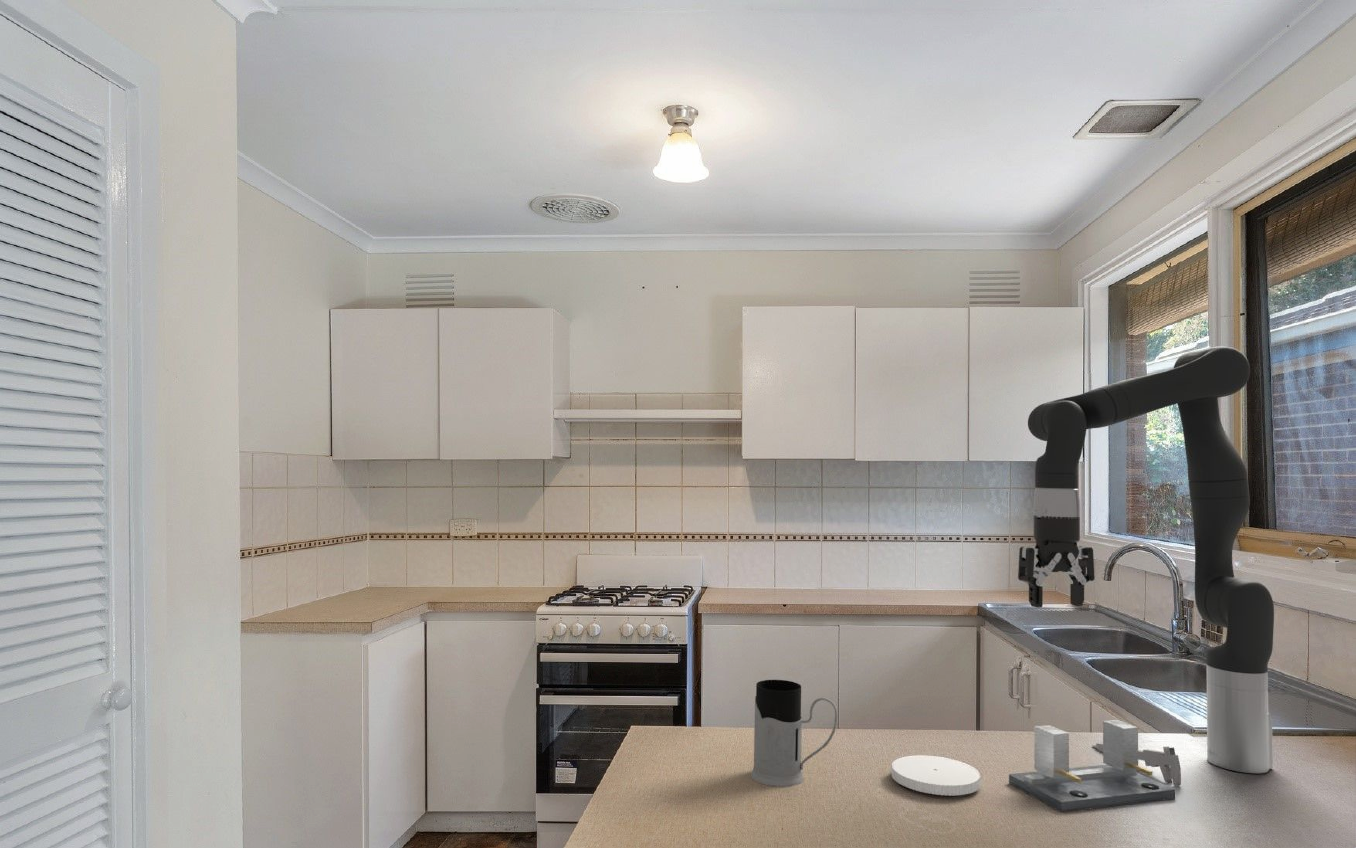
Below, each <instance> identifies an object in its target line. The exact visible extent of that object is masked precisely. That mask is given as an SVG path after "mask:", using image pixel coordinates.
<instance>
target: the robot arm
mask: <svg viewBox="0 0 1356 848" xmlns="http://www.w3.org/2000/svg"><path fill="white" fill-rule="evenodd" d="M1250 375H1251V366H1250V363H1249V360H1248V358H1247V357H1246V355H1244V353H1243V352H1242V351H1240V350H1238V349H1236V348H1234V347H1229V346H1213V347H1207V348H1206V347H1205V348H1201V349H1195V350H1191V351H1186V352H1184V353H1182V354H1181V355H1180V356H1179V357H1178V358H1177V359H1176V361H1175V363H1174V365H1173V368H1170V369H1167V370H1165V371H1161V372H1156V373H1152V374H1147V375H1143V376H1142V375H1141V376H1137V377H1133V378H1128V379H1125V380H1124V379H1123V380H1120V381H1117V382H1113V383H1110V384H1106V385H1103V386H1100V387H1097V388H1094V389H1091V390H1089V391H1085V392H1083V393H1080V394H1077V395H1072V396H1068V397H1067V396H1066V397H1064V398H1061V399H1060V398H1059V399H1056V400H1051V401H1048V402H1043V403H1041V404H1039V405H1038V406H1036V407H1034V408H1033V410H1031V412H1030V414H1029V415H1028V418H1027V427H1028V430H1029V432H1030V433H1031V435H1032V436H1033V437H1035V439H1038V440H1040V441H1043V442H1046V446H1045V452H1044V453H1043V454H1042V455H1039V457H1038V458H1037V459H1036V461H1035V466H1034V472H1035V473H1034V496H1033V538H1034V540H1035V545H1034V547H1030V546H1029V547H1028V546H1020V547H1019V552H1018V553H1019V554H1018V571H1017V578H1018V581H1020V582H1023V583H1026V584H1027V585H1028V601H1029V604H1030V606H1031V607H1032V608H1042V607H1043V602H1044V599H1043V598H1044V597H1043V595H1044V593H1043V592H1044V591H1043V586H1042V585H1043V582H1044V581H1045V579H1046V578H1047V577H1049V576H1050V575H1051V573H1059V572H1063V574H1065V575H1066V576H1067V577H1068V579H1069V580H1070V582H1071V583H1070V585H1069V586H1070V588H1069V589H1070V590H1069V591H1070V594H1069V595H1070V596H1069V598H1070V601H1069V602H1070V605H1072V606H1075V607H1082V606H1083V604H1084V601H1085V586H1086V584H1087V583H1089V582H1093V581H1094V580H1095V576H1096V575H1095V560H1094V559H1095V558H1094V548H1093V547H1091V546H1084V545H1083V546H1081V545H1080V546H1079V545H1078V542H1079V541H1080V540H1081V503H1080V502H1081V500H1080V495H1079V494H1080V493H1079V463H1080V459H1081V456H1082V452H1083V449H1084V445H1085V440H1086V436H1087V430H1093V429H1101V428H1105V427H1110V426H1112V425H1116V424H1119V423H1122V422H1125V421H1127V420H1132V419H1134V418H1137V417H1140V416H1143V415H1146V414H1149V413H1151V412H1155V411H1158V410H1161V409H1163V408H1166V407H1170V406H1173V405H1177V408H1178V412H1179V416H1180V421H1181V426H1182V433H1183V440H1184V441H1183V442H1184V450H1185V456H1186V466H1187V482H1188V488H1189V489H1188V490H1189V499H1190V500H1189V501H1190V506H1191V512H1192V523H1193V527H1192V528H1193V536H1194V537H1193V538H1194V599H1195V600H1194V601H1195V606H1196V608H1197V612H1198V613H1199V615H1200V616H1201V618H1202V619H1203V620H1204V621H1205V622H1207V623H1209V624H1211V625H1212V626H1213V625H1214V626H1218V627H1223V628H1225V629H1226V638H1225V641H1224V642H1223V643H1222V644H1221V645H1220V644H1219V645H1216V646H1215V645H1214V646H1211V647H1209V648H1208V649H1207V651H1206V658H1205V659H1206V733H1207V734H1206V740H1207V741H1206V745H1207V747H1206V748H1207V750H1206V753H1207V754H1206V755H1207V761H1208V762H1209V763H1211V764H1212V765H1214V766H1217V767H1218V768H1222V769H1226V770H1230V771H1235V772H1239V773H1245V774H1264V773H1267V772H1269V771H1270V769H1273V768H1274V766H1273V763H1274V760H1273V759H1274V757H1273V755H1274V754H1273V750H1274V749H1273V715H1272V714H1271V713H1270V712H1269V682H1268V681H1269V679H1268V678H1269V677H1268V675H1269V673H1268V667H1269V666H1268V665H1269V661H1270V659H1271V656H1272V653H1273V648H1274V647H1273V646H1274V626H1275V625H1274V624H1275V608H1274V607H1275V606H1274V600H1273V596H1272V595H1271V592H1270V590H1269V589H1268V588H1267V587H1266V586H1265V585H1264V584H1263V583H1261V582H1258V581H1256V580H1252V579H1251V580H1249V579H1244V578H1237V577H1235V573H1234V566H1233V564H1234V563H1233V548H1234V543H1235V541H1236V538H1237V535H1238V534H1239V532H1240V530H1241V528H1242V527H1243V524H1244V522H1245V520H1246V519H1247V515H1248V513H1249V511H1250V506H1251V505H1250V504H1251V499H1250V497H1251V495H1250V488H1249V487H1250V486H1249V480H1248V479H1249V478H1248V472H1247V468H1246V464H1245V462H1244V461H1243V459H1242V456H1241V455H1240V454H1239V452H1238V450H1237V448H1236V447H1235V446H1234V444H1233V443H1232V441H1231V439H1230V438H1229V436H1228V435H1227V433H1226V431H1225V429H1224V427H1223V424H1222V421H1221V416H1220V415H1221V414H1220V408H1219V398H1224V397H1227V396H1231V395H1234V394H1236V393H1238V392H1239V391H1241V390H1242V389H1243V388H1244V387H1245V386H1246V384H1247V383H1248V381H1249V379H1250V377H1251V376H1250ZM1035 559H1036V560H1035ZM1077 560H1078V561H1077Z"/></svg>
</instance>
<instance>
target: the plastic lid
mask: <svg viewBox="0 0 1356 848" xmlns="http://www.w3.org/2000/svg"><path fill="white" fill-rule="evenodd" d="M891 778H892V779H893V780H894V781H896V783H897V784H900V785H901V786H903V787H905V788H907V789H908V788H909V789H910V790H913V791H916V792H920V793H925V794H932V795H936V796H938V795H940V796H949V797H951V796H953V797H954V796H962V795H963V796H965V795H968V794H971V793H972V794H973V793H975V792H977V791H978V790H979V789H980V788H981V773H980V772H979V771H978V769H976V768H975V767H973V766H972V765H969V764H967V763H965V762H963V761H960V760H957V759H953V758H949V757H948V758H947V757H942V756H939V755H938V756H937V755H936V756H935V755H924V754H922V755H916V754H915V755H906V756H903V757H900V758H899V757H898V758H896V759H894V760H893V761H892V762H891Z"/></svg>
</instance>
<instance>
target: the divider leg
mask: <svg viewBox="0 0 1356 848" xmlns="http://www.w3.org/2000/svg"><path fill="white" fill-rule="evenodd" d="M1033 738H1034V742H1033V743H1034V747H1033V748H1034V754H1033V755H1034V757H1033V758H1034V762H1033V763H1034V770H1035V771H1039V772H1041V773H1043V774H1045V775H1047V776H1049V777H1051V778H1052V779H1059V778H1069V779H1071V780H1073V781H1075V782H1077V783H1081V778H1079V777H1077V776H1075V775H1073V774H1070V773H1069V768H1070V733H1069V732H1067V731H1065V730H1062V729H1060V728H1057V727H1055V726H1053V725H1050V724H1048V725H1046V724H1044V725H1035V726H1034V737H1033Z"/></svg>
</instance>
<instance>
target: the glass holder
mask: <svg viewBox="0 0 1356 848" xmlns="http://www.w3.org/2000/svg"><path fill="white" fill-rule="evenodd" d="M755 685H756V686H755V687H756V688H755V697H754V731H753V732H754V733H753V734H754V735H753V736H754V737H753V740H754V741H753V742H754V743H753V767H752V771H751V773H750V777H751V779H752V780H754V781H755V782H758V783H759V784H762V785H767V786H771V787H780V788H781V787H792V786H797V785H800V784H801V783H803V781H804V779H805V778H804V774H803V773H802V770H803V767H804V764H805V763H807V761H808V760H809V759H811V758H813V757H814V756H815V755H817V754H818V753H819V752H821V751H822V750H823V749H825V748H826V746H828V745H829V743H830V742H831V740H832V738H833V736H834V734H835V732H836V730H837V725H838V709H837V705H836V703H835V702H833V701H832V700H831V699H830V698H828V697H818V698H816V699H814V701H813V702H812V704H811V706H810V709H809V719H803V717H802V685H801V684H799V683H798V682H795V681H791V680H787V679H786V680H785V679H784V680H783V679H765V680H760V681H758V682H756V683H755ZM819 701H825V702H828V703H830V705H832V706H833V709H834V725H833V728H832V731H831V733H830V735H829V737H828V739H827V740H826V741H825V742H824V743H823V744H822V745H821V746H820V747H819V748H817V749H816V750H815V751H814V752H811V753H810V754H809V755H808V756H806V757H805V758H804V759H803V760H802V742H803V741H802V738H803V737H802V734H803V732H802V730H803V729H802V728H803V727H802V725H803V723H804V724H806V723H810V722H811V720H812V719H813V713H814V708H815V705H816V704H817V703H818V702H819Z"/></svg>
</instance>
